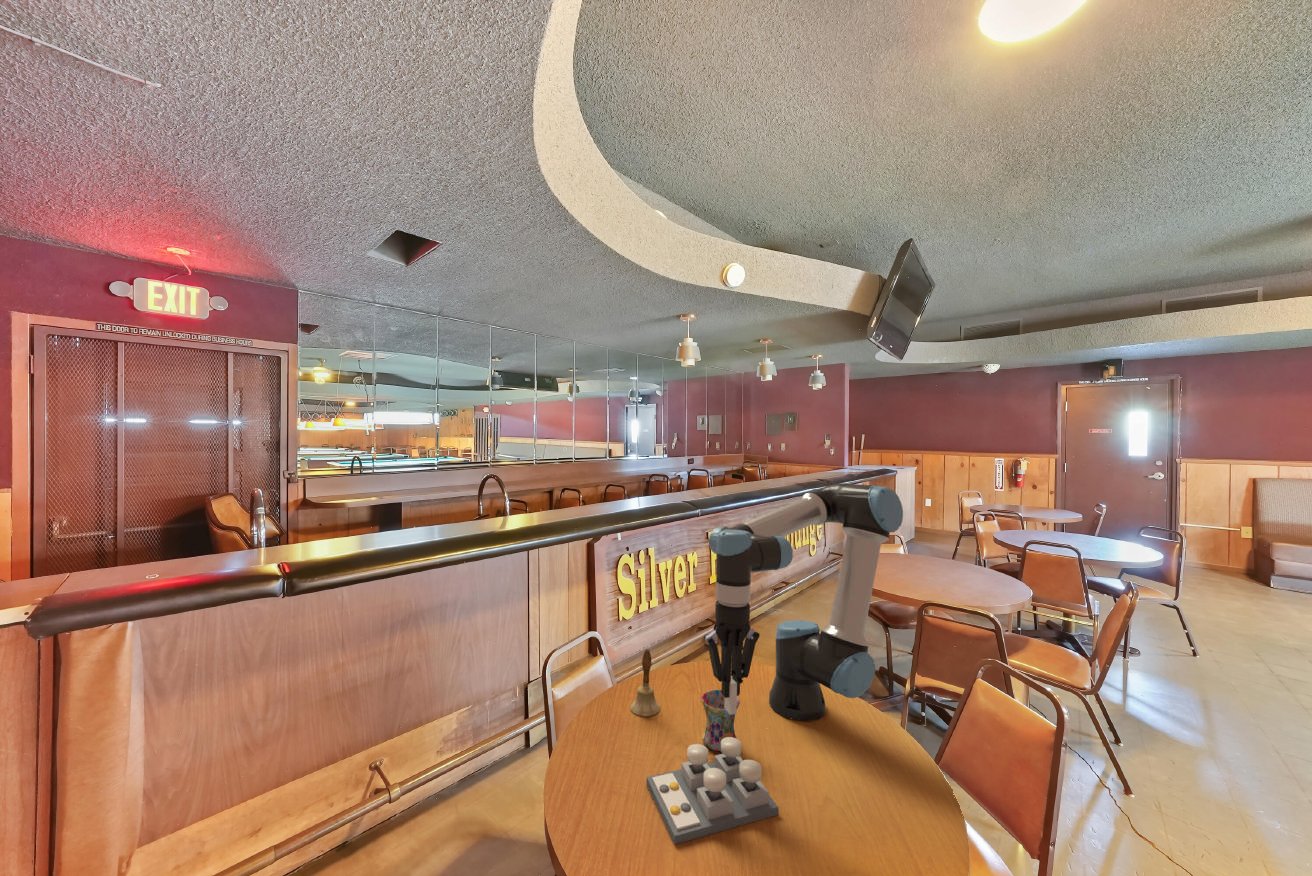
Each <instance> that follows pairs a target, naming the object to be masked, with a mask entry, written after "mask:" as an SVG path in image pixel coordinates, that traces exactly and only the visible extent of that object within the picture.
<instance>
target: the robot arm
mask: <svg viewBox="0 0 1312 876" xmlns="http://www.w3.org/2000/svg"><path fill="white" fill-rule="evenodd" d="M903 519H904V509H903V504H902V501H901V500H900V497H899V496H898V494H897V492H895V490H893V489H891V488H889V487H887V486H881V485H880V486H879V485H877V484H873V485H872V484H871V485H870V484H857V483H856V484H854V483H853V484H852V483H845V482H843V483H842V482H841V483H835V484H834V483H833V484H829V485H826V486H822V487H820V488H817V489H815V490H813V491H809V492H807V493H804V494H803V495H802V496H801V497H800V499H799V500H797V501H793V502H792V503H789V504H787V505H784V506H782V507H779V508H777V509H774V510H771V511H770V512H767V513H765V514H762V515H760V516H757V517H755V518H753V519H750V520H747V521H745V522H743V523H740V524H737V525H734V526H732V527H728V526H718V527H715V528H714V529H713V530H712V531H711V532H710V534H709V537H708V546H709V548H710V550H711V552H712V553H713V554H715V556H716V558H715V559H716V560H715V561H716V563H715V564H716V566H715V568H716V570H715V571H716V575H715V579H716V580H715V600H716V601H715V611H714V612H715V615H714V616H715V617H714V618H715V619H714V620H715V624H714V625H713V631H711V632H710V633H709V634H707V633H705V634H704V635H703V640H704V641H705V643H706V644H707V649H708V652H709V653H708V654H709V659H710V663H711V664H710V665H711V669H712V674H713V676H714V678H715V679H717V681H718V682H720V683H721V690H722V692H721V693H722V695H723V696H724V697H725V701H724V708H725V710H726V711H727V712H728V713H729V714H730V715H732V714H735V715H736V714H737V711H736V707H737V697H738V696H740V695H741V684H742V683H744V680H743V679H744V678H745V679H746V678H747V679H748V678H749V674H750V670H751V666H752V663H753V662H752V661H753V658H754V657H753V656H754V652H755V648H756V644H757V642H758V640H759V639H760V636H761V634H760V632H758V631H757V630H755V629H753V628H751V625H750V620H751V618H750V617H751V614H750V613H751V605H750V602H751V584H752V583H751V578H752V577H751V576H752V573H759V572H766V571H767V572H768V571H777V570H780V569H784V568H787V567H789V565H790V564H791V563H792V561H793V559H794V556H793V555H794V554H793V552H794V550H793V547H792V545H791V542H790V541H789V539H787V538H786V537H787V536H789V535H791V534H794V533H796V532H799V531H800V530H802V529H806V528H807V527H809V526H813V525H814V526H821V525H823V524H825V523H834V524H835V523H837V524H842V529H841V530H842V531H843V532H844V534H845V535H846V539H845V544H844V549H843V554H842V559H841V564H840V568H839V572H838V577H837V583H836V588H835V593H834V599H833V601H832V602H833V603H832V607H831V612H830V617H829V623H828V624H827V625H826V626H824V627H822V628H820V626H819V624H818V623H816V622H814V621H809V620H800V619H796V620H795V619H793V620H791V619H790V620H786V621H782V622H780V623H779V624H778V625H777V627H776V633H775V634H776V635H775V676H774V680H773V682H772V686H771V689H770V692H769V700H768V703H769V706H770V707H771V709H772V710H773V711H774V712H776V713H777V714H778V715H781V716H782V717H785V718H786V719H787V718H788V719H790V720H793V721H798V722H799V721H800V722H812V721H818V720H819V719H821V718H823V717H824V716H825V714H826V700H825V698H824V697H825V696H824V694H823V690H822V687H821V686H823V687H825V688H827V689H830V690H831V691H832V692H834V693H835V694H839V695H841V696H843V697H845V698H848V699H856V698H858V697H860V696H862V695H863V694H864V693H865V692H866V691H867V690H868V689H869V688H870V686H871V684H872V683H873V681H874V677H875V673H876V664H875V660H874V658H873V657H872V656H871V654H870V653H868V652H869V645H870V644H869V643H868V641H867V640H866V638H865V632H866V627H867V621H868V614H869V609H870V604H871V599H872V594H873V589H874V585H875V584H874V583H875V578H876V573H877V567H878V562H879V557H880V550H881V546H882V545H883V544H884V543H886V542H887V541H888V540H889V538H890V533H894V532H897V531H898V530H899V528H900V527H901V526H902V523H903ZM820 630H821V631H820ZM717 638H718V639H717ZM718 640H719V641H720V642H719V643H720V648H721V649H720V650H721V652H720V653H719V648H718V645H717V643H718ZM720 655H721V656H720Z"/></svg>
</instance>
